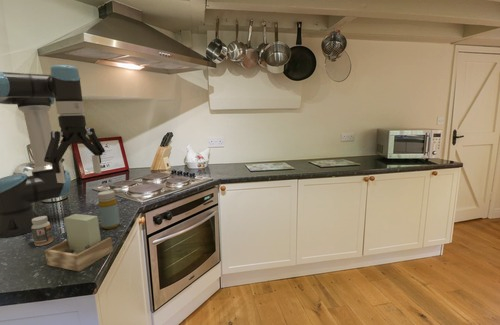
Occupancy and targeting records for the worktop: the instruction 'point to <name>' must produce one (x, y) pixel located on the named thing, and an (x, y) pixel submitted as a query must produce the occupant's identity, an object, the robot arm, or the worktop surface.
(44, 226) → the pill bottle
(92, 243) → the door
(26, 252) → the worktop surface
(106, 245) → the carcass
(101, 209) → the bottle
